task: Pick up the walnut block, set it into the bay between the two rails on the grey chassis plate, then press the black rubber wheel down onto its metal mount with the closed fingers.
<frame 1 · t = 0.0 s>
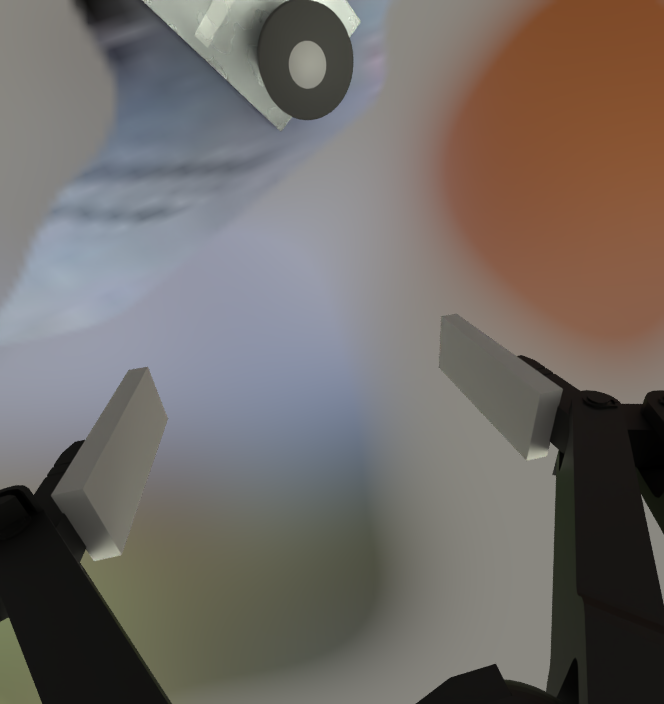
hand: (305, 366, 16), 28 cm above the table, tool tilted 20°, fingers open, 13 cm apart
wheel: (303, 61, 24), point 8 cm above the table, slide at 0.0 cm
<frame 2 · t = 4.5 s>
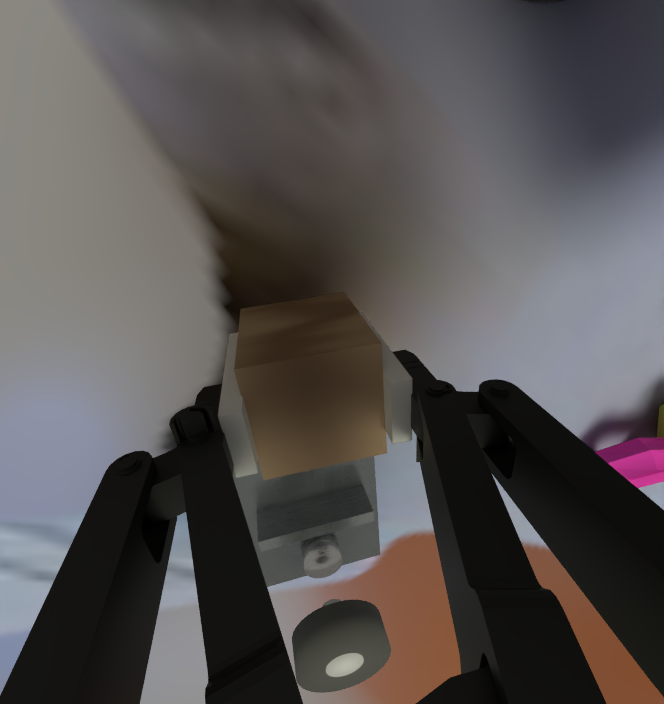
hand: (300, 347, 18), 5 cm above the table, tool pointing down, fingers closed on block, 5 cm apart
chassis: (307, 484, 29), on the table
toy: (648, 422, 36), on the table
block: (300, 346, 19), point 5 cm above the table, touching gripper
wheel: (338, 633, 24), point 8 cm above the table, slide at 0.0 cm
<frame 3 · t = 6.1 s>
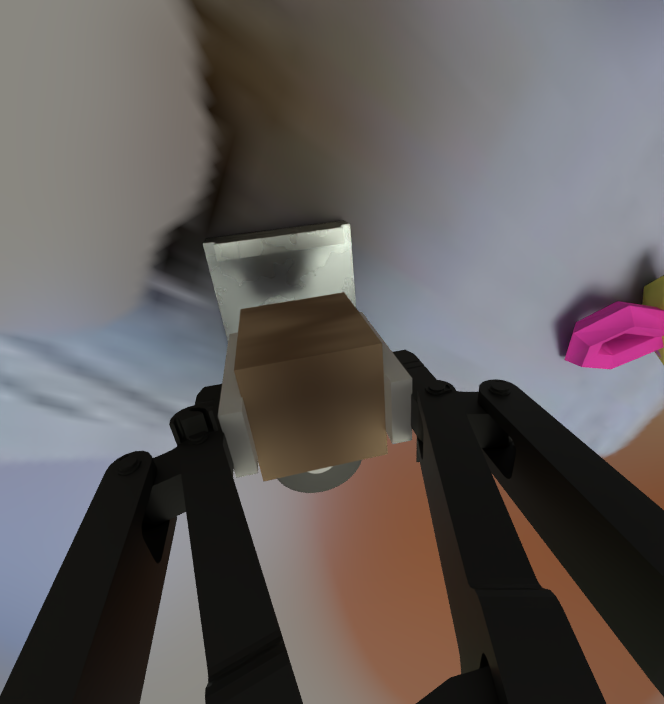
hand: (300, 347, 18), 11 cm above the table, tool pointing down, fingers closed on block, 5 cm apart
chassis: (292, 329, 30), on the table
toy: (632, 306, 36), on the table
block: (300, 346, 18), point 11 cm above the table, touching gripper
wheel: (314, 441, 25), point 8 cm above the table, slide at 0.0 cm
when the fingers open (3 cm above the table, at t = 7.8 s): block stays where it is, resting on chassis.
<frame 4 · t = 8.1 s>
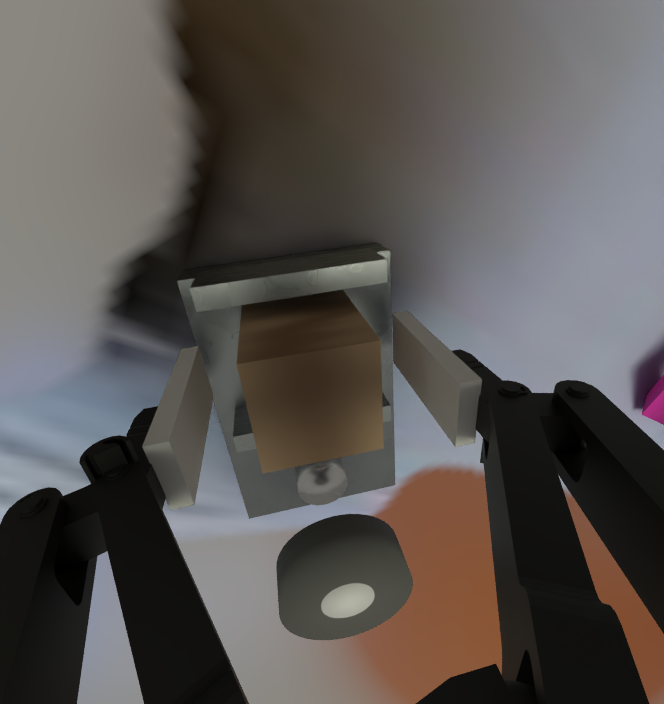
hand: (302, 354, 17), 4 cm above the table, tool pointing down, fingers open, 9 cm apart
chassis: (304, 386, 22), on the table
block: (299, 343, 19), point 2 cm above the table, touching chassis
wheel: (339, 563, 17), point 8 cm above the table, slide at 0.0 cm
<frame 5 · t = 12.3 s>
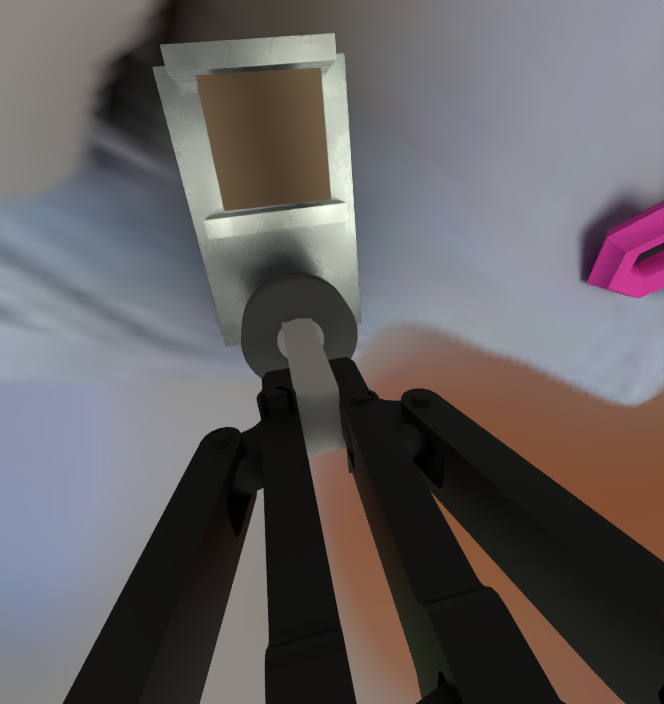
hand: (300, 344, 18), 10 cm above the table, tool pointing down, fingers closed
chassis: (275, 216, 24), on the table
block: (265, 149, 21), point 2 cm above the table, touching chassis
wheel: (297, 327, 20), point 8 cm above the table, slide at -0.6 cm, touching gripper
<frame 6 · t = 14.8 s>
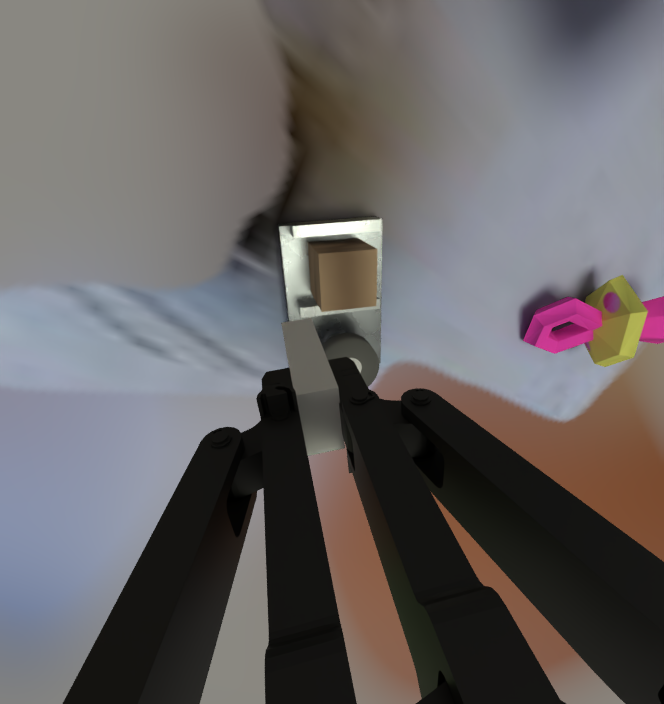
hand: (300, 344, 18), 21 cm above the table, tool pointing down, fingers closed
chassis: (331, 297, 40), on the table
toy: (576, 311, 48), on the table
block: (334, 265, 36), point 2 cm above the table, touching chassis
wheel: (345, 360, 37), point 6 cm above the table, slide at -2.6 cm
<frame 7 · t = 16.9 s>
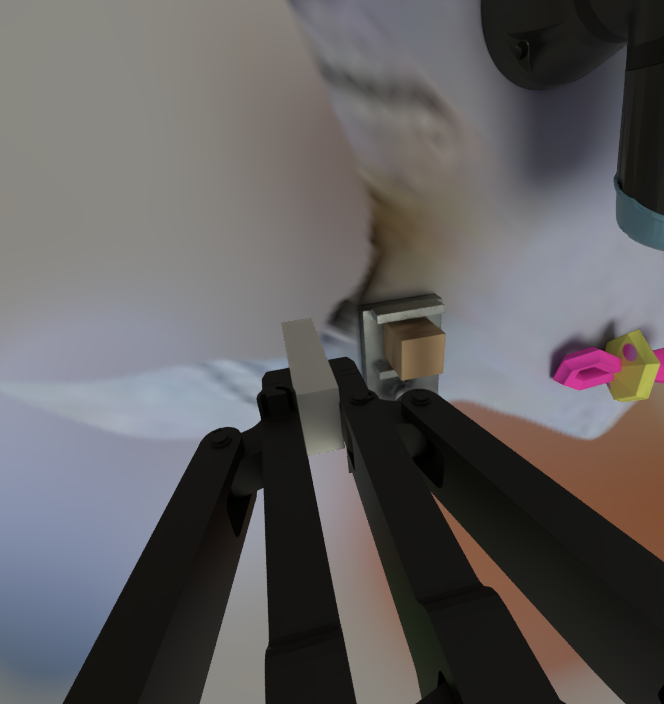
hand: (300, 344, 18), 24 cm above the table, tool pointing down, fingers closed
chassis: (398, 355, 49), on the table
toy: (598, 353, 56), on the table
block: (403, 335, 45), point 2 cm above the table, touching chassis
wheel: (414, 410, 46), point 6 cm above the table, slide at -2.6 cm
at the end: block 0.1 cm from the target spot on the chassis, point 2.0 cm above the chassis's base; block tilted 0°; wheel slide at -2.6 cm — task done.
